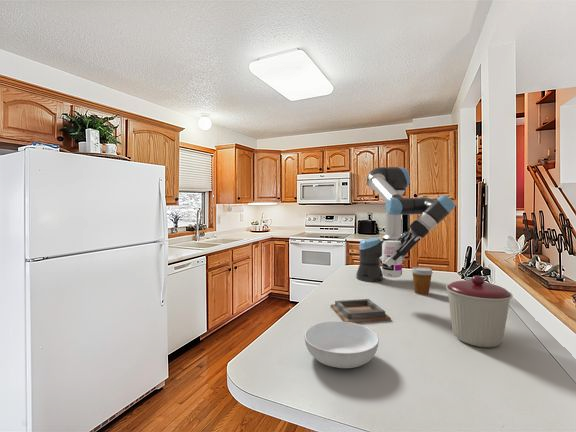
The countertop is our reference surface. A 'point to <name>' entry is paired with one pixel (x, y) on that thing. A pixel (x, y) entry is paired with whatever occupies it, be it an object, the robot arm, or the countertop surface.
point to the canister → (478, 311)
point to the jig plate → (359, 311)
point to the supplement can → (388, 250)
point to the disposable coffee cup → (421, 279)
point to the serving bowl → (341, 343)
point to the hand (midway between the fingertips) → (384, 262)
